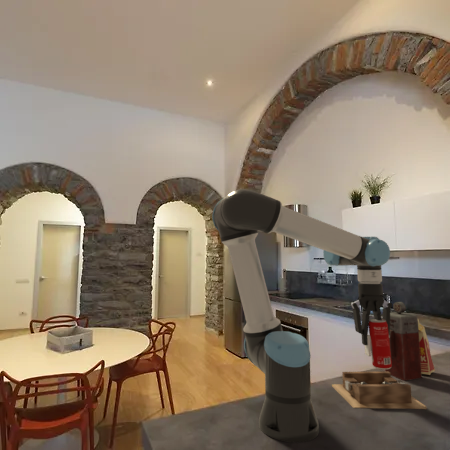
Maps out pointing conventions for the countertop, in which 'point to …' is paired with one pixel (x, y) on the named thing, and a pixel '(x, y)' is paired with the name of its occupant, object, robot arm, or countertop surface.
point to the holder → (377, 391)
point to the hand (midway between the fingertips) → (373, 355)
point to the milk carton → (425, 352)
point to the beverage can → (380, 344)
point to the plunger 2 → (391, 383)
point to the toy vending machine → (404, 344)
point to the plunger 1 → (349, 385)
